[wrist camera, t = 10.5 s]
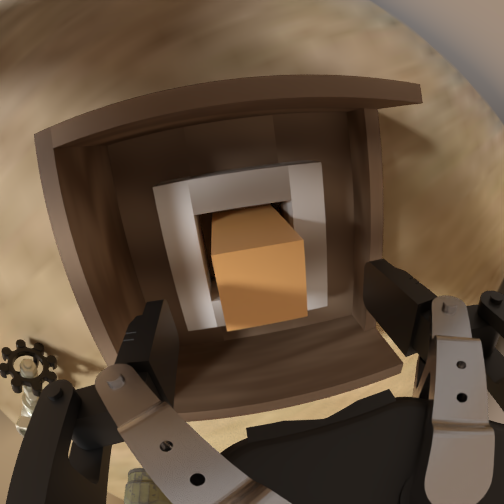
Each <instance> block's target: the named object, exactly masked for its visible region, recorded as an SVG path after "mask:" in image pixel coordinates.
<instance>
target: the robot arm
mask: <svg viewBox="0 0 504 504" xmlns="http://www.w3.org/2000/svg"><path fill="white" fill-rule="evenodd" d="M363 301H364V305H365V307H366V309H367V310H368V312H369V313H370V314H371V315H372V316H373V317H374V319H375V320H376V321H377V322H378V323H379V325H380V326H381V327H382V328H383V329H384V331H385V332H386V333H387V334H388V335H389V337H390V338H391V339H392V340H393V342H394V343H395V344H396V345H397V346H398V348H399V349H400V350H401V351H402V353H403V354H404V355H405V356H406V357H407V356H410V355H412V354H415V353H418V354H419V356H418V360H417V366H416V375H415V382H414V389H413V396H412V397H396V398H395V397H394V396H393V394H392V393H391V391H390V390H389V389H388V390H385V391H383V392H380V393H377V394H375V395H372V396H369V397H366V398H363V399H360V400H358V401H356V402H354V403H353V404H351V405H349V406H348V407H346V408H344V409H342V410H341V411H339V412H337V413H335V414H333V415H332V416H330V417H328V418H325V419H317V420H295V421H281V422H276V423H271V424H266V425H260V426H254V427H248V428H246V430H247V437H248V438H246V439H244V440H241V441H239V442H237V443H235V444H233V445H232V446H230V447H228V448H227V449H225V450H224V451H223V452H221V453H219V452H218V451H216V450H215V449H214V448H213V447H212V446H211V445H210V444H209V443H208V442H206V441H205V440H204V439H203V438H202V437H201V436H200V435H199V434H198V433H197V432H196V431H195V430H194V429H193V428H192V427H191V426H190V425H189V424H187V423H186V422H185V421H184V420H183V419H182V417H181V416H180V415H179V414H178V413H177V412H176V411H175V410H174V409H173V407H174V395H175V384H176V373H177V364H178V355H179V336H178V332H177V329H176V326H175V323H174V320H173V317H172V314H171V311H170V308H169V305H168V302H167V300H166V299H162V300H156V301H149V302H147V303H146V305H145V308H144V311H143V314H142V315H139V316H136V317H135V318H134V319H133V320H132V321H131V322H130V323H129V325H128V328H127V331H126V334H125V336H124V338H123V342H122V344H121V347H120V349H119V352H118V355H117V358H116V361H115V363H114V365H111V366H109V367H107V368H105V369H104V370H102V371H101V372H100V373H99V374H98V376H97V378H96V380H95V385H92V386H88V387H84V388H81V389H77V390H75V388H74V387H73V386H72V384H71V383H70V382H69V381H67V380H56V381H54V382H52V383H50V384H48V385H47V386H46V387H45V388H44V389H43V390H42V392H41V394H40V396H39V399H38V401H37V404H36V406H35V409H34V411H33V414H32V416H31V419H30V421H29V424H28V427H27V430H26V433H25V435H24V438H23V441H22V444H21V447H20V450H19V454H18V457H17V460H16V464H15V467H14V471H13V475H12V478H11V483H10V487H9V491H8V496H7V500H6V504H106V495H107V483H108V473H109V464H110V455H111V447H112V445H113V444H117V443H121V442H124V441H125V443H126V444H127V446H128V447H129V448H130V450H131V451H132V453H133V454H134V456H135V457H136V459H137V460H138V461H139V463H140V464H141V465H142V467H143V468H144V469H145V471H146V472H147V473H148V475H149V476H150V477H151V479H152V480H153V481H154V482H155V484H156V485H157V486H158V487H159V489H160V490H161V491H162V492H163V493H164V495H165V496H166V497H167V498H168V499H169V500H170V501H171V503H172V504H504V424H501V423H497V422H494V421H490V420H488V397H487V390H488V391H489V392H490V394H491V395H492V396H493V398H494V399H495V400H496V402H497V403H498V404H499V406H500V407H501V408H502V410H503V411H504V357H503V355H502V354H501V353H500V352H499V351H498V350H497V349H496V348H495V346H496V343H497V341H498V339H499V336H500V335H501V336H502V337H503V338H504V295H503V294H502V293H499V292H496V291H486V292H484V293H482V295H481V297H480V301H479V305H471V306H466V305H465V303H464V302H463V301H462V300H460V299H458V298H456V297H453V296H439V297H437V296H436V295H435V294H434V293H432V292H431V291H430V290H429V289H427V288H426V287H425V286H424V285H422V284H421V283H419V281H417V280H416V279H415V278H414V279H413V277H412V276H411V275H410V274H408V273H407V272H406V271H403V270H401V269H398V268H396V267H394V266H392V265H391V264H390V263H388V262H387V261H386V260H384V259H379V260H374V261H370V262H366V264H365V266H364V283H363ZM71 439H72V440H73V443H72V447H71V451H70V456H69V458H68V452H69V447H70V443H71Z"/></svg>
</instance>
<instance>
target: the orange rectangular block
mask: <svg viewBox="0 0 504 504" xmlns="http://www.w3.org/2000/svg"><path fill="white" fill-rule="evenodd" d="M211 257H212V262H213V267H214V272H215V277H216V282H217V287H218V291H219V296H220V301H221V306H222V310H223V315H224V319H225V324H226V328H227V331H233V330H239V329H245V328H251V327H256V326H262V325H267V324H272V323H277V322H282V321H287V320H292V319H297V318H302V317H306V316H308V311H307V288H306V269H305V252H304V240H303V239H302V237H301V236H300V235H299V234H298V233H297V232H296V231H295V230H294V229H293V228H292V227H291V226H290V225H289V224H288V223H287V221H286V220H285V219H284V218H283V217H282V216H281V215H280V214H279V213H278V212H277V211H276V210H275V209H274V208H273V207H272V206H271V205H270V204H264V205H258V206H251V207H245V208H238V209H232V210H226V211H220V212H214V213H212V236H211Z"/></svg>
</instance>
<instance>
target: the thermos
mask: <svg viewBox="0 0 504 504" xmlns="http://www.w3.org/2000/svg"><path fill="white" fill-rule="evenodd" d="M124 504H172V503H171V501H170V500H169V499H168V498H167V497H166V496H165V495H164V493H163V492H162V491H161V490H160V489H159V487H158V486H157V485H156V484H155V482H154V481H153V480H152V479H151V477H150V476H149V475H148V473H147V472H146V471H145V469H144V468H139V469H133V470H130V471H129V473H128V483H127V484H126V488H125V496H124Z"/></svg>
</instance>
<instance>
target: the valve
mask: <svg viewBox="0 0 504 504" xmlns="http://www.w3.org/2000/svg"><path fill="white" fill-rule="evenodd" d="M16 348H17V350H15V351H11V350H10V349H9V348H8V347H4V348H3V349H2V357H3V359H4V360H5V361H6V359H8V363H7V364H6V363H1V364H0V374H1V376H2V377H3V378H7V376H6V375H8V374H11V376H12V377H13V379H12V380H11V385H12V389H13V391H14V392H15V393H21V392H22V386H23V388H24V393H23V395H22V402H23V407H22V411H21V416H20V417H19V419H18V421H17V423H16V428H17V431H18V432H19V433H20V435H22V436H23V437H24V435H25V433H26V430H27V427H28V424H29V421H30V419H31V416H32V414H33V411H34V409H35V406H36V404H37V401H38V399H39V396H40V394H41V392H42V390H43V389H42V383H43V382H44V381H48V382H49V384H50V383H52V382H54V381H56V380H57V376H56V374H55V373H54V372H51V371H49V367H53V370H54V369H56V368H57V360H56V358H55V357H54V356H51V355H50V356H48V357H44V356H43V355H44V346H43V345H42V344H40V343H36V344H35V345H34V348H27V347H26V344H25V341H23V340H21V339H20V340H17V341H16ZM24 355H29V356H32V357H33V361H32V360H31V359H23V360H22V362H21V363H20V372H17V371H15V370H14V367H13V365H14V362H15V360H16V359H17V358H18V357H20V356H24ZM39 361H40V362H41V363H42V365H43V371H42V373H41V374H40V375H39V376H38V371H37V368H38V364H39Z"/></svg>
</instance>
